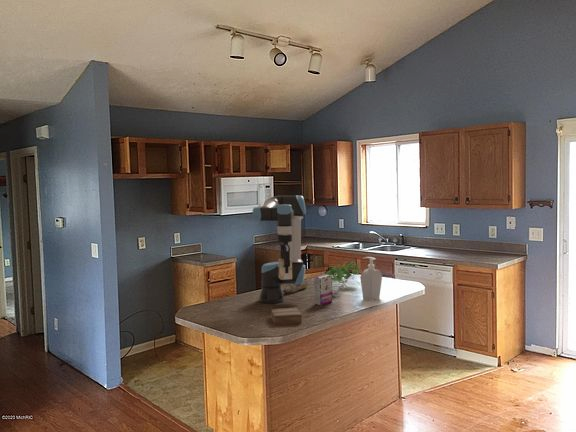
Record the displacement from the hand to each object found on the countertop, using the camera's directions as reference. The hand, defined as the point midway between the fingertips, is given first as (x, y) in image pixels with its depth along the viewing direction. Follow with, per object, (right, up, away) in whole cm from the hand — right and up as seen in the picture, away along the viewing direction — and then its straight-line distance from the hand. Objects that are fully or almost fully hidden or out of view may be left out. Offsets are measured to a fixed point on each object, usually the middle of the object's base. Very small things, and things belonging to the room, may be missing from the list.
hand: (285, 277), depth 268 cm
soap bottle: (+52, -19, +47) cm, 73 cm away
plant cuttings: (+41, -17, +72) cm, 85 cm away
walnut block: (0, -23, +2) cm, 23 cm away
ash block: (0, 0, 0) cm, 0 cm away
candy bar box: (+23, -20, +37) cm, 48 cm away
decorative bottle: (+5, -18, +70) cm, 73 cm away
